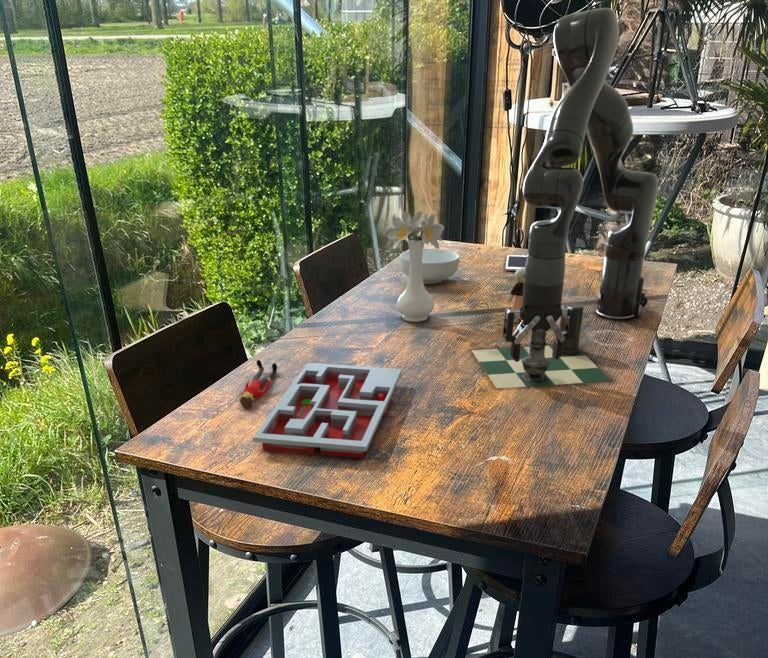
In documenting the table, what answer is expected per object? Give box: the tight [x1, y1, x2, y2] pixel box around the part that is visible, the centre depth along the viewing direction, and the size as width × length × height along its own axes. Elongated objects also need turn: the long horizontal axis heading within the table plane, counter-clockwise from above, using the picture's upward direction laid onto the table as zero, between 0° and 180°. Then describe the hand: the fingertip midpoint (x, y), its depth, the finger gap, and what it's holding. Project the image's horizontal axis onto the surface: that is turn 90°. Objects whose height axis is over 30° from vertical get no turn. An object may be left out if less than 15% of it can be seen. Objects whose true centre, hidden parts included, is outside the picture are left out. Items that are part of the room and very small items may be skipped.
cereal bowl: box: [399, 248, 460, 285], centre depth 225 cm, size 17×17×7 cm
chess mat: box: [470, 344, 612, 390], centre depth 170 cm, size 24×22×1 cm
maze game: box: [252, 362, 403, 459], centre depth 148 cm, size 35×20×3 cm, turn 169°
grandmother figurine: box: [507, 268, 525, 324], centre depth 193 cm, size 8×4×13 cm, turn 143°
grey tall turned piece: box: [521, 329, 551, 383], centre depth 161 cm, size 6×6×12 cm
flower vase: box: [385, 210, 445, 323], centre depth 192 cm, size 13×18×25 cm
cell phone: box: [505, 254, 528, 272], centre depth 240 cm, size 8×16×1 cm, turn 171°
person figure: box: [239, 359, 278, 409], centre depth 159 cm, size 5×4×18 cm
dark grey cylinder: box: [559, 301, 585, 355], centre depth 175 cm, size 5×5×10 cm
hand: (535, 359), depth 162 cm, fingers open, 8 cm apart
